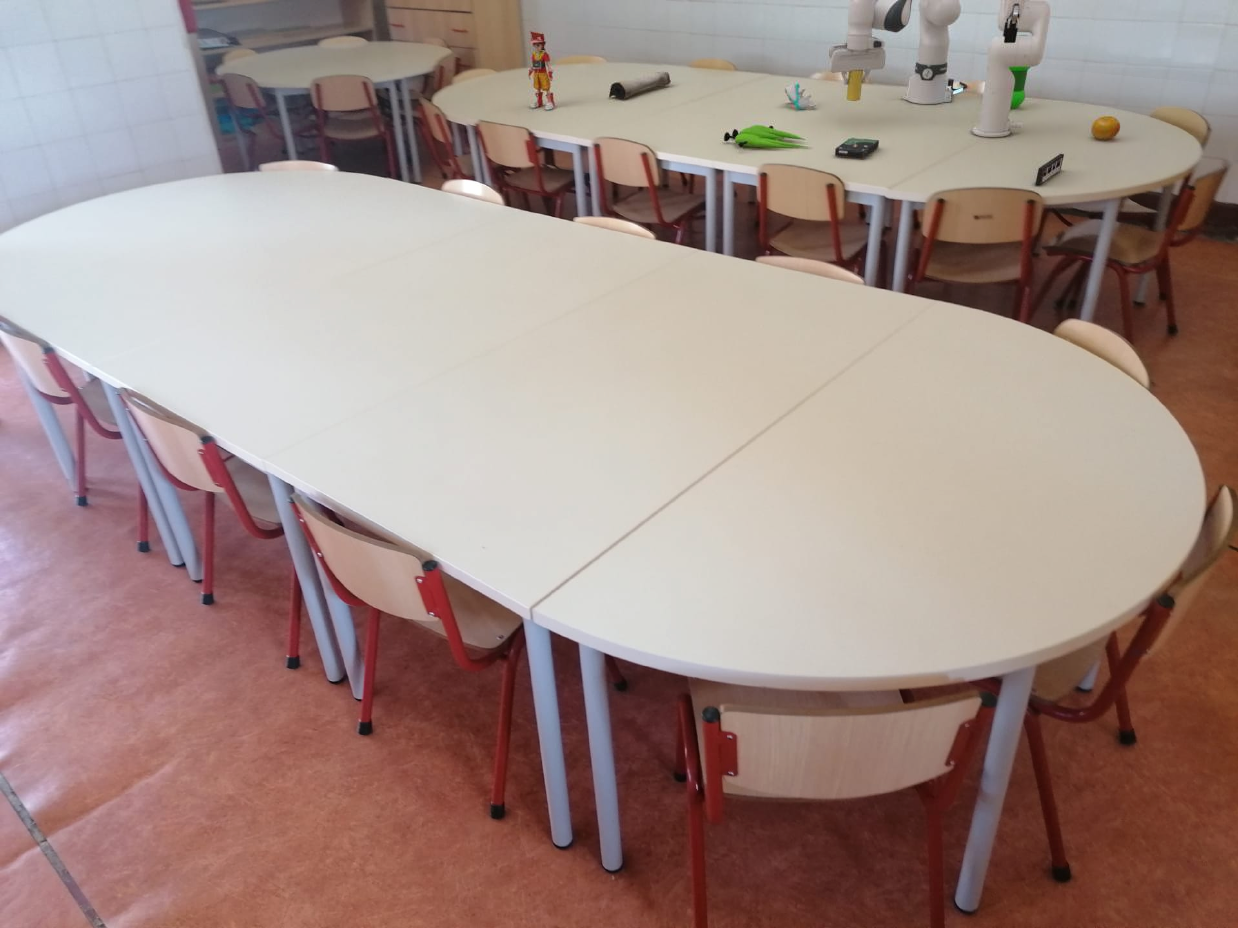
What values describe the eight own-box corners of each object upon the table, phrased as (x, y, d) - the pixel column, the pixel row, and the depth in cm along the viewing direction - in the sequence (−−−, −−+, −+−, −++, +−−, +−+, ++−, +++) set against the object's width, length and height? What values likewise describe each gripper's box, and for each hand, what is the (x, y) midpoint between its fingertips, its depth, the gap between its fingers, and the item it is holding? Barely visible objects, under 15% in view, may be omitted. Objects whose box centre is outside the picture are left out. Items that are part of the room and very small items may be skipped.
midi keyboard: (1039, 185, 269) (1043, 168, 266) (1035, 184, 270) (1038, 168, 267) (1060, 170, 279) (1064, 154, 277) (1056, 169, 280) (1060, 153, 277)
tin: (849, 97, 333) (852, 68, 327) (862, 98, 331) (865, 69, 325) (844, 100, 330) (846, 71, 324) (856, 101, 328) (859, 72, 322)
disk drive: (864, 160, 299) (878, 148, 309) (864, 151, 297) (879, 139, 307) (834, 157, 304) (849, 145, 314) (835, 148, 302) (850, 136, 312)
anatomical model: (780, 80, 363) (804, 74, 363) (784, 106, 369) (807, 100, 369) (789, 89, 351) (814, 82, 350) (792, 115, 357) (817, 109, 356)
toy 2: (713, 146, 317) (792, 161, 304) (715, 131, 314) (794, 145, 301) (747, 132, 337) (821, 146, 325) (748, 118, 334) (824, 131, 322)
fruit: (1087, 130, 301) (1105, 108, 298) (1084, 133, 309) (1101, 112, 306) (1109, 144, 300) (1127, 122, 297) (1105, 147, 308) (1122, 126, 305)
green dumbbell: (1029, 106, 343) (1043, 35, 329) (1012, 111, 338) (1026, 39, 324) (1007, 102, 350) (1020, 32, 336) (989, 107, 345) (1002, 36, 331)
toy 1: (525, 109, 381) (517, 32, 364) (534, 104, 388) (527, 28, 371) (550, 110, 377) (543, 32, 360) (559, 105, 384) (553, 28, 367)
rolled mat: (651, 76, 408) (662, 61, 399) (662, 93, 408) (674, 79, 400) (605, 92, 391) (616, 77, 383) (617, 110, 391) (628, 95, 383)
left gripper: (832, 46, 316) (829, 87, 324) (889, 42, 317) (884, 83, 325) (827, 43, 322) (824, 84, 330) (883, 39, 323) (878, 80, 330)
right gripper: (1005, -28, 269) (995, 34, 279) (1007, -20, 256) (996, 45, 265) (1032, -28, 267) (1020, 34, 277) (1035, -21, 253) (1023, 45, 263)
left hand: (854, 84), depth 327 cm, fingers closed on tin, 5 cm apart
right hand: (1008, 39), depth 271 cm, fingers open, 9 cm apart
